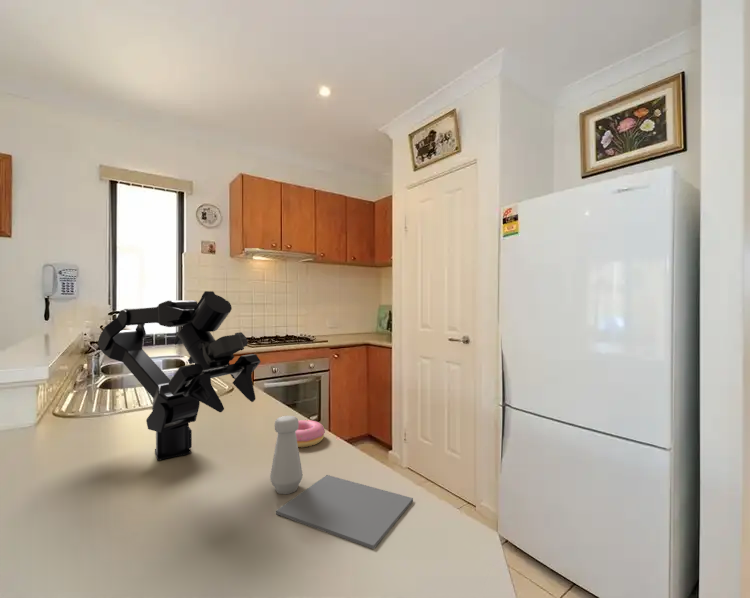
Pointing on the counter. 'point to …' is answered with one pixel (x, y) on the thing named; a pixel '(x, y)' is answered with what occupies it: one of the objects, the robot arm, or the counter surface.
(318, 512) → the mat
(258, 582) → the counter surface
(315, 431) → the doughnut
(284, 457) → the salt shaker
